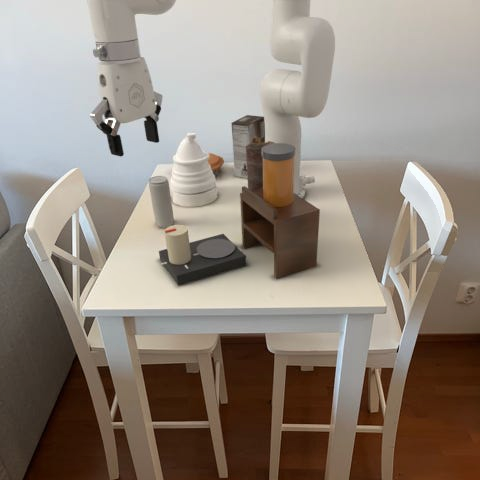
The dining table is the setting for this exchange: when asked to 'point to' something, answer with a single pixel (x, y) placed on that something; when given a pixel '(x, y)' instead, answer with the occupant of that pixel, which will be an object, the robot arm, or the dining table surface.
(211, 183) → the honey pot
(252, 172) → the candle
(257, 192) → the shelf
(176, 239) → the knob
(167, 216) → the beverage can
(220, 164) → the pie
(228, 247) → the pale grey disc
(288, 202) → the jar
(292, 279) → the dining table surface
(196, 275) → the hot plate
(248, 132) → the coffee box
